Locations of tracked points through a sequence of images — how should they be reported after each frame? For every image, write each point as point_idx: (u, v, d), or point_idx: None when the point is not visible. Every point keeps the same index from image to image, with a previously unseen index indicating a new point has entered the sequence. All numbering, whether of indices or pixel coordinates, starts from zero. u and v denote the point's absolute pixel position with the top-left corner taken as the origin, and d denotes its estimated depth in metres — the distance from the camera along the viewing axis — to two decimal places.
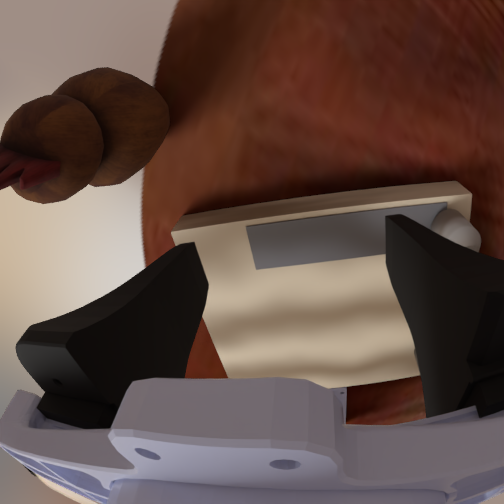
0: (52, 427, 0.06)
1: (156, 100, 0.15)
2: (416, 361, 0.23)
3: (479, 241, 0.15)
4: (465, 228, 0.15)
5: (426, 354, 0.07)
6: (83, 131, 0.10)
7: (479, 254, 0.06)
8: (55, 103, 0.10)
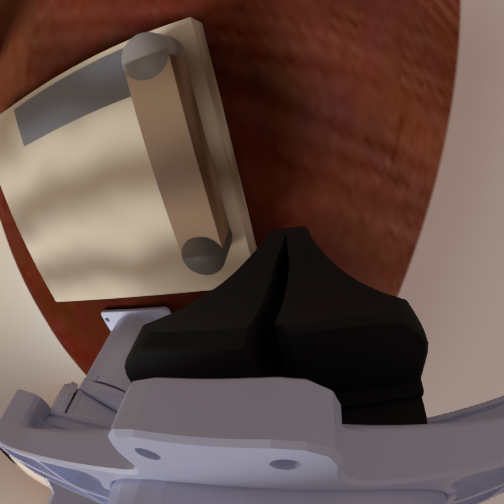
0: (52, 427, 0.06)
1: None
2: None
3: (165, 44, 0.12)
4: (138, 35, 0.12)
5: None
6: None
7: (342, 274, 0.07)
8: None
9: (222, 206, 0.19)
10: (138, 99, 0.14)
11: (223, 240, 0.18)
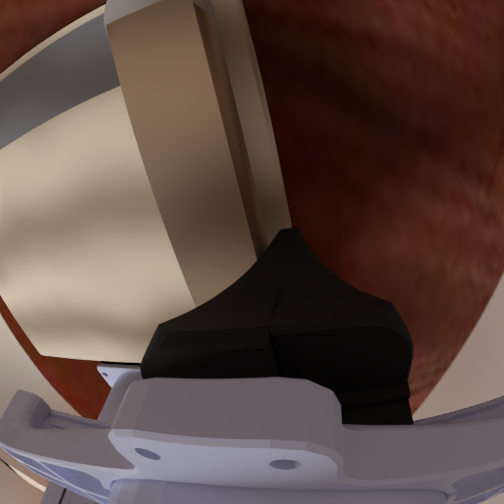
0: (52, 427, 0.06)
1: None
2: None
3: None
4: None
5: None
6: None
7: (330, 276, 0.07)
8: None
9: None
10: (132, 86, 0.07)
11: None
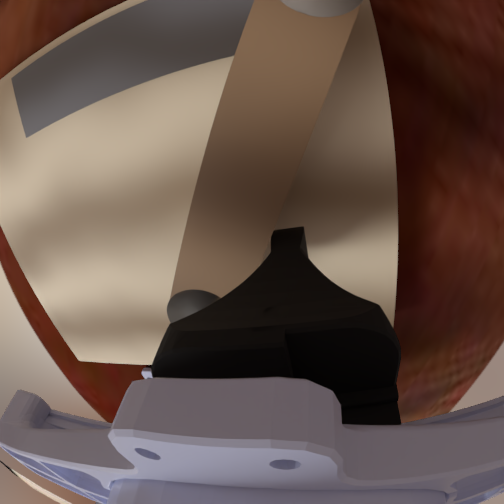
0: (52, 427, 0.06)
1: None
2: None
3: None
4: None
5: None
6: None
7: (320, 277, 0.07)
8: None
9: None
10: (258, 30, 0.06)
11: None
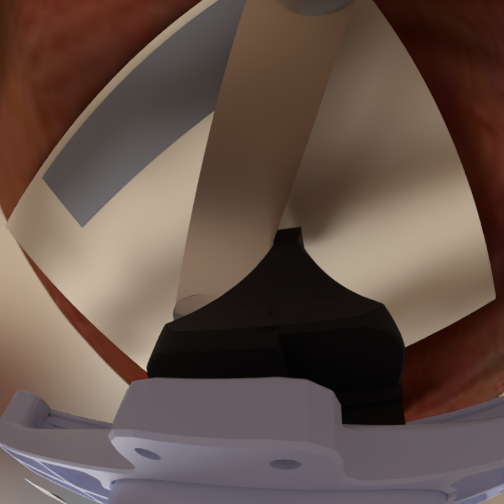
0: (52, 427, 0.06)
1: None
2: None
3: None
4: None
5: None
6: None
7: (324, 277, 0.07)
8: None
9: None
10: (251, 32, 0.06)
11: None
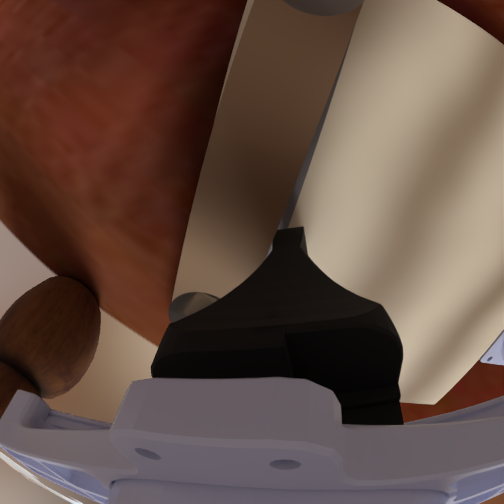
0: (52, 427, 0.06)
1: (34, 295, 0.15)
2: None
3: None
4: None
5: None
6: None
7: (322, 277, 0.07)
8: None
9: None
10: (259, 29, 0.06)
11: None
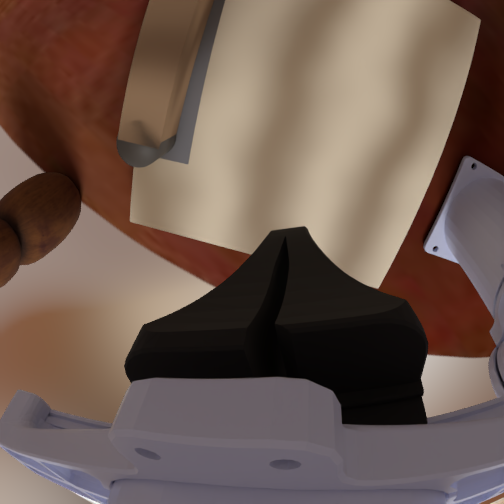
0: (52, 427, 0.06)
1: (31, 177, 0.19)
2: None
3: None
4: None
5: None
6: None
7: (342, 274, 0.07)
8: None
9: (181, 108, 0.16)
10: None
11: (164, 138, 0.16)
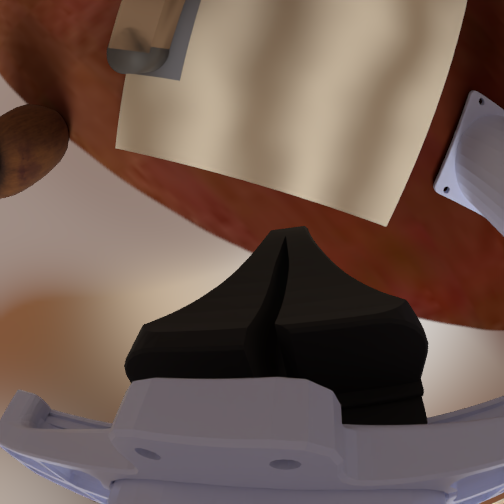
0: (52, 427, 0.06)
1: None
2: None
3: None
4: None
5: None
6: None
7: (342, 274, 0.07)
8: None
9: (175, 23, 0.14)
10: None
11: (156, 45, 0.13)
